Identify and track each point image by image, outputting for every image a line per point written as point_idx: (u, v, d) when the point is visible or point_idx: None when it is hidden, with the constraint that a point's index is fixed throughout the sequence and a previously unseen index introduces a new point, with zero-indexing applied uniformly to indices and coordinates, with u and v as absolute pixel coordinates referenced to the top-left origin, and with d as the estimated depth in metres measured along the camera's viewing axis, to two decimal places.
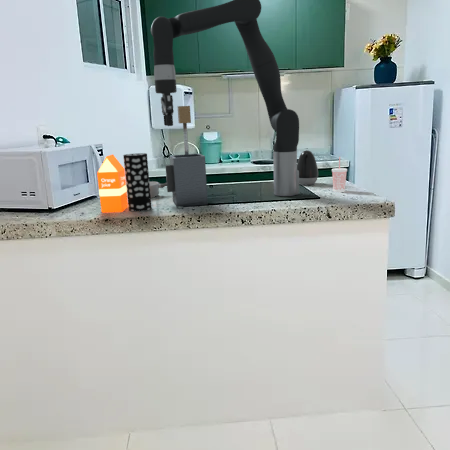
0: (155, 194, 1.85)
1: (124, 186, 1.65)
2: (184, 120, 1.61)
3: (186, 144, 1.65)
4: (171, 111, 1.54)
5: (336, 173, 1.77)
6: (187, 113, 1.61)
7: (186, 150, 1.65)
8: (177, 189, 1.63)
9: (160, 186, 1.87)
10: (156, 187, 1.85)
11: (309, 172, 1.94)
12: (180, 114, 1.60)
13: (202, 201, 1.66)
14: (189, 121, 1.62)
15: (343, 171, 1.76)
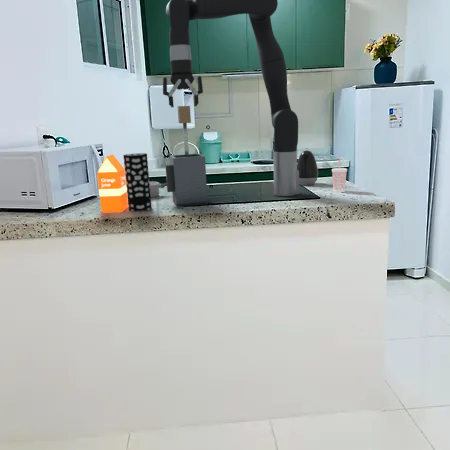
0: (155, 194, 1.85)
1: (124, 186, 1.65)
2: (184, 120, 1.61)
3: (186, 144, 1.65)
4: None
5: (336, 173, 1.77)
6: (187, 113, 1.61)
7: (186, 150, 1.65)
8: (177, 189, 1.63)
9: (161, 186, 1.87)
10: (156, 187, 1.85)
11: (309, 172, 1.94)
12: (180, 114, 1.60)
13: (202, 201, 1.66)
14: (189, 121, 1.62)
15: (343, 171, 1.76)
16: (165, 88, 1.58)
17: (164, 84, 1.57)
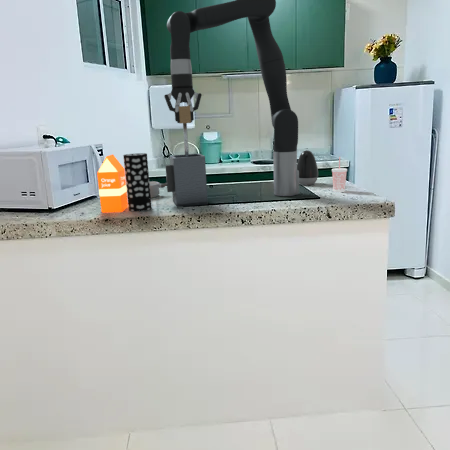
0: (156, 194, 1.85)
1: (124, 186, 1.65)
2: (184, 120, 1.61)
3: (186, 144, 1.65)
4: None
5: (336, 173, 1.77)
6: (187, 113, 1.61)
7: (186, 150, 1.65)
8: (177, 189, 1.63)
9: (161, 185, 1.87)
10: (157, 187, 1.85)
11: (309, 172, 1.94)
12: (180, 114, 1.60)
13: (202, 201, 1.66)
14: (189, 121, 1.62)
15: (343, 171, 1.76)
16: (170, 104, 1.59)
17: (167, 101, 1.59)
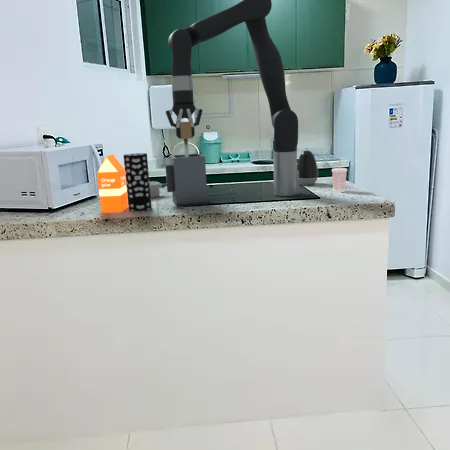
0: (156, 194, 1.85)
1: (124, 186, 1.65)
2: (185, 135, 1.63)
3: None
4: None
5: (336, 173, 1.77)
6: (188, 129, 1.62)
7: None
8: (177, 189, 1.63)
9: (161, 185, 1.87)
10: (157, 187, 1.85)
11: (309, 172, 1.94)
12: (181, 130, 1.62)
13: (202, 201, 1.66)
14: (190, 137, 1.63)
15: (343, 171, 1.76)
16: (171, 120, 1.61)
17: (169, 117, 1.60)
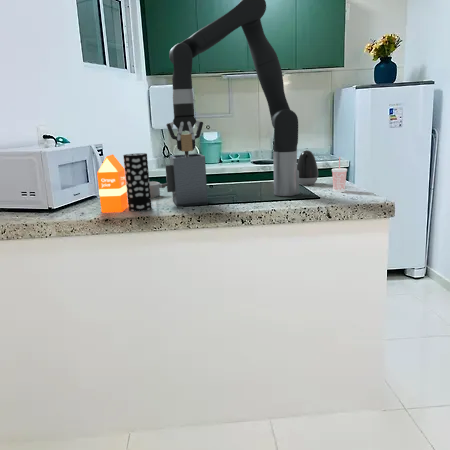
0: (156, 194, 1.85)
1: (124, 186, 1.65)
2: (186, 148, 1.64)
3: None
4: None
5: (336, 173, 1.77)
6: (189, 141, 1.63)
7: None
8: (177, 189, 1.63)
9: (161, 186, 1.87)
10: (157, 187, 1.85)
11: (309, 172, 1.94)
12: (182, 142, 1.63)
13: (202, 201, 1.66)
14: (191, 149, 1.64)
15: (343, 171, 1.76)
16: (172, 133, 1.62)
17: (170, 130, 1.62)
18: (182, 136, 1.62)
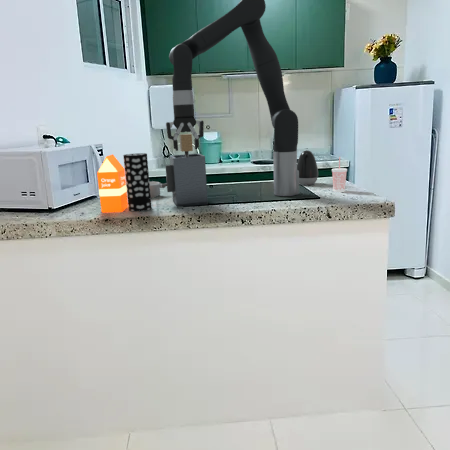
0: (156, 194, 1.85)
1: (124, 186, 1.65)
2: (186, 148, 1.64)
3: None
4: None
5: (336, 173, 1.77)
6: (189, 141, 1.63)
7: None
8: (177, 189, 1.63)
9: (162, 185, 1.87)
10: (157, 187, 1.85)
11: (309, 172, 1.94)
12: (182, 142, 1.63)
13: (202, 201, 1.66)
14: (191, 149, 1.64)
15: (343, 171, 1.76)
16: (169, 132, 1.62)
17: (168, 129, 1.61)
18: (182, 136, 1.62)
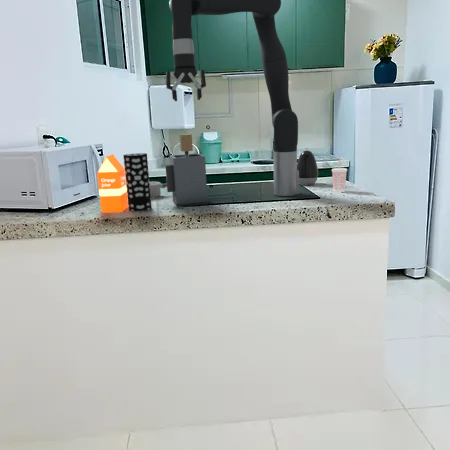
0: (157, 194, 1.85)
1: (124, 186, 1.65)
2: (186, 148, 1.64)
3: None
4: None
5: (336, 173, 1.77)
6: (189, 141, 1.63)
7: None
8: (177, 189, 1.63)
9: (162, 185, 1.87)
10: (158, 187, 1.85)
11: (309, 172, 1.94)
12: (182, 142, 1.63)
13: (202, 201, 1.66)
14: (191, 149, 1.64)
15: (343, 171, 1.76)
16: (169, 82, 1.59)
17: (167, 78, 1.59)
18: (182, 136, 1.62)
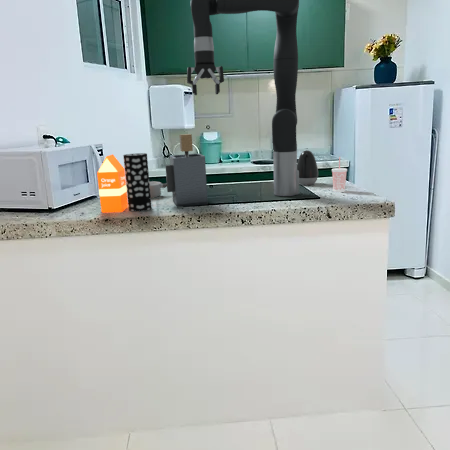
0: (157, 194, 1.85)
1: (124, 186, 1.65)
2: (186, 148, 1.64)
3: None
4: None
5: (336, 173, 1.77)
6: (189, 141, 1.63)
7: None
8: (177, 189, 1.63)
9: (162, 185, 1.87)
10: (158, 187, 1.85)
11: (309, 172, 1.94)
12: (182, 142, 1.63)
13: (202, 201, 1.66)
14: (191, 149, 1.64)
15: (343, 171, 1.76)
16: (189, 77, 1.70)
17: (188, 73, 1.70)
18: (182, 136, 1.62)
